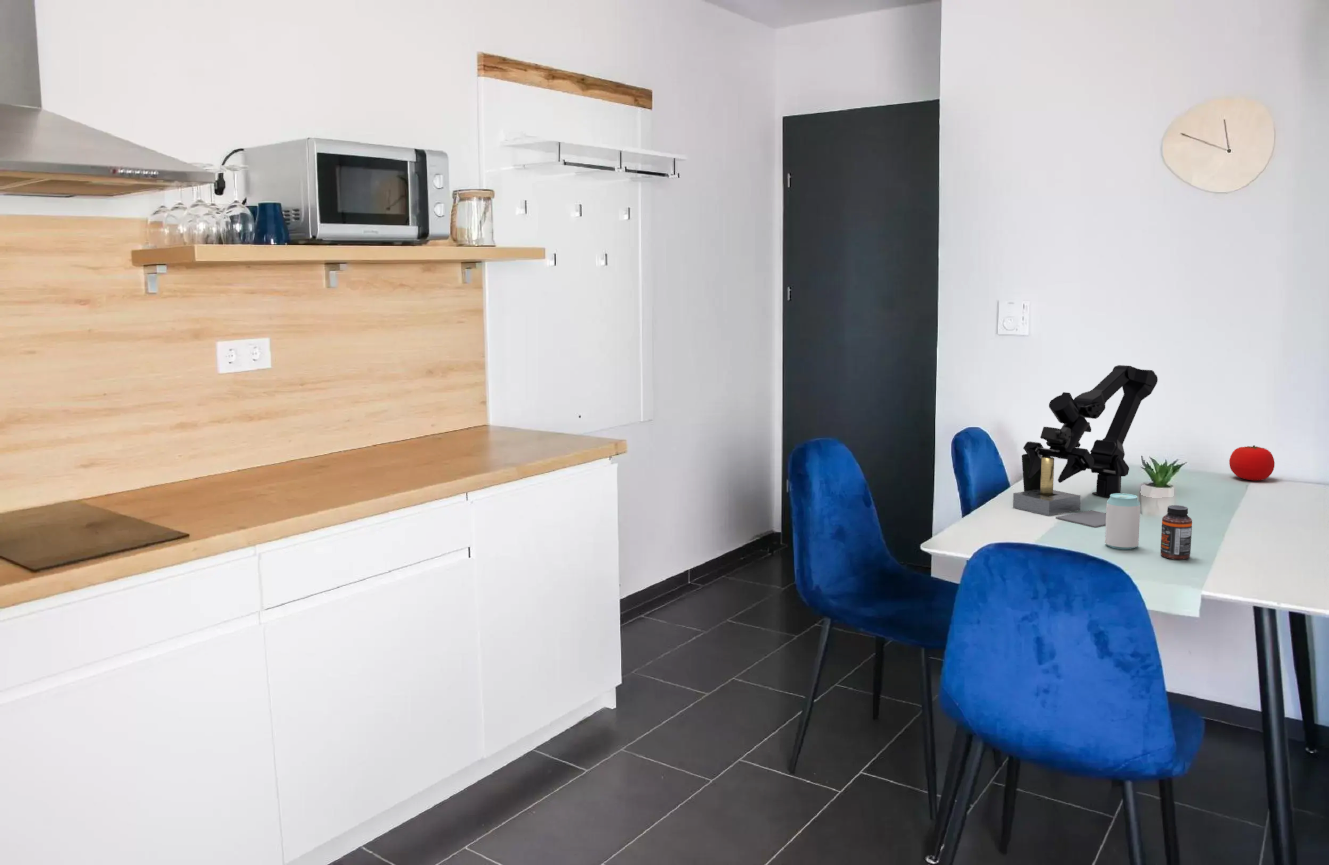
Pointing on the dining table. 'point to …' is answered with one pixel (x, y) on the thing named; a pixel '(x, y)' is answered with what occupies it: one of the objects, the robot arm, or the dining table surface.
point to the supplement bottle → (1176, 533)
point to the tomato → (1252, 463)
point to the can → (1122, 521)
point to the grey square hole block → (1046, 502)
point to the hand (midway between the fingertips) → (1043, 479)
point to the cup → (1035, 480)
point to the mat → (1086, 518)
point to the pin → (1047, 476)
